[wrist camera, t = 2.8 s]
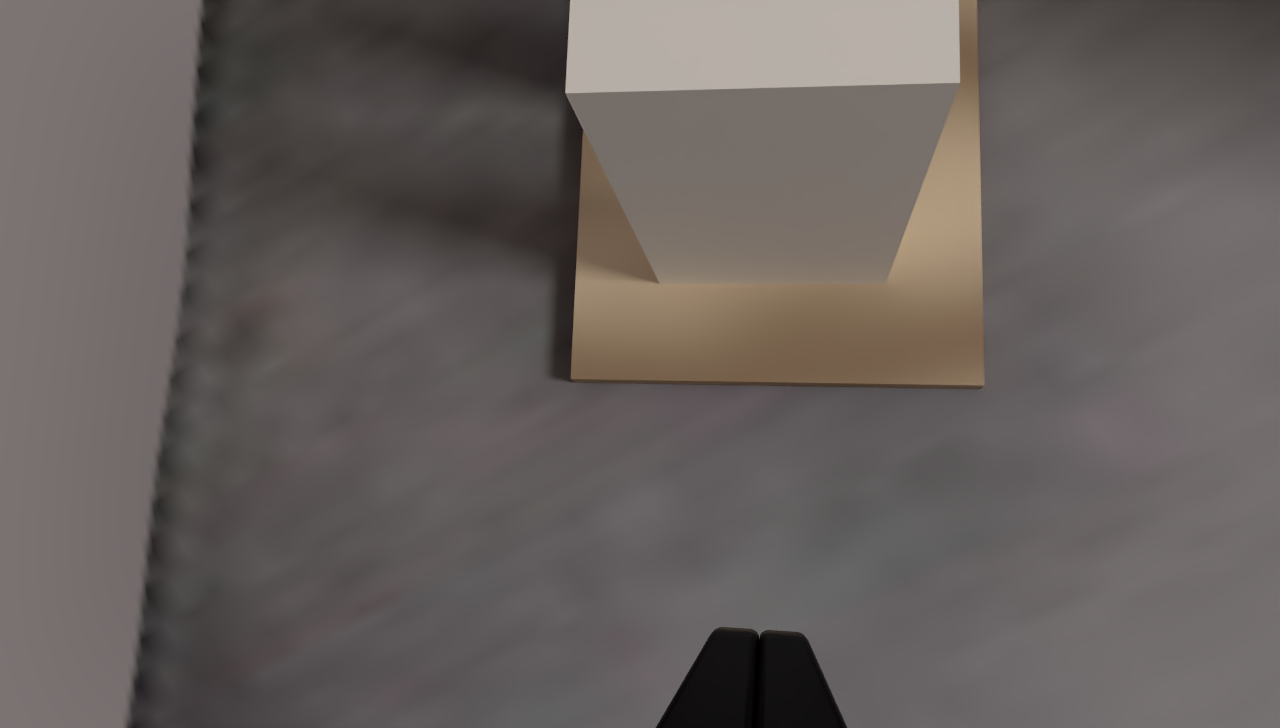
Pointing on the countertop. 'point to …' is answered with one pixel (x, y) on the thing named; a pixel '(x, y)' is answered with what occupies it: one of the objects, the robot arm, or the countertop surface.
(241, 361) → the countertop surface
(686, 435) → the countertop surface
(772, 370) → the oak strip
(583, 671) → the countertop surface
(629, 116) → the domino
